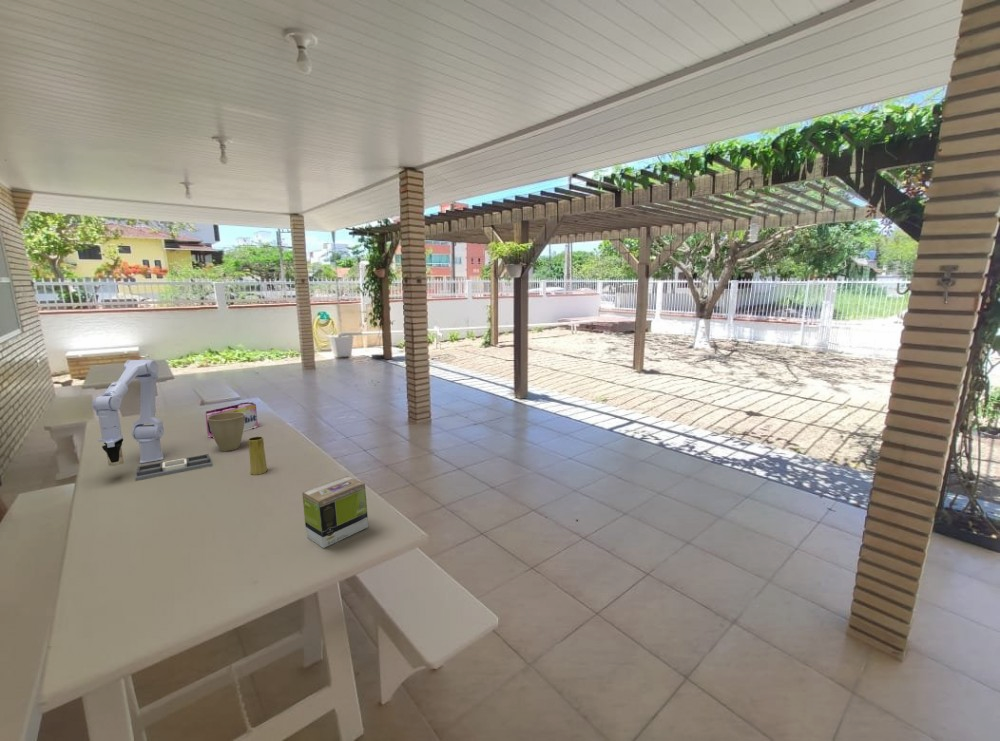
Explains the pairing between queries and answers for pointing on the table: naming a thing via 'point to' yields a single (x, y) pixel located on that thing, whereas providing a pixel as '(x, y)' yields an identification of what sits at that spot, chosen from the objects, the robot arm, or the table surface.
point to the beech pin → (118, 461)
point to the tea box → (335, 510)
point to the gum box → (243, 408)
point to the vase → (257, 455)
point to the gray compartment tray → (172, 466)
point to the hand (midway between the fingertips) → (115, 460)
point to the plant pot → (227, 429)
